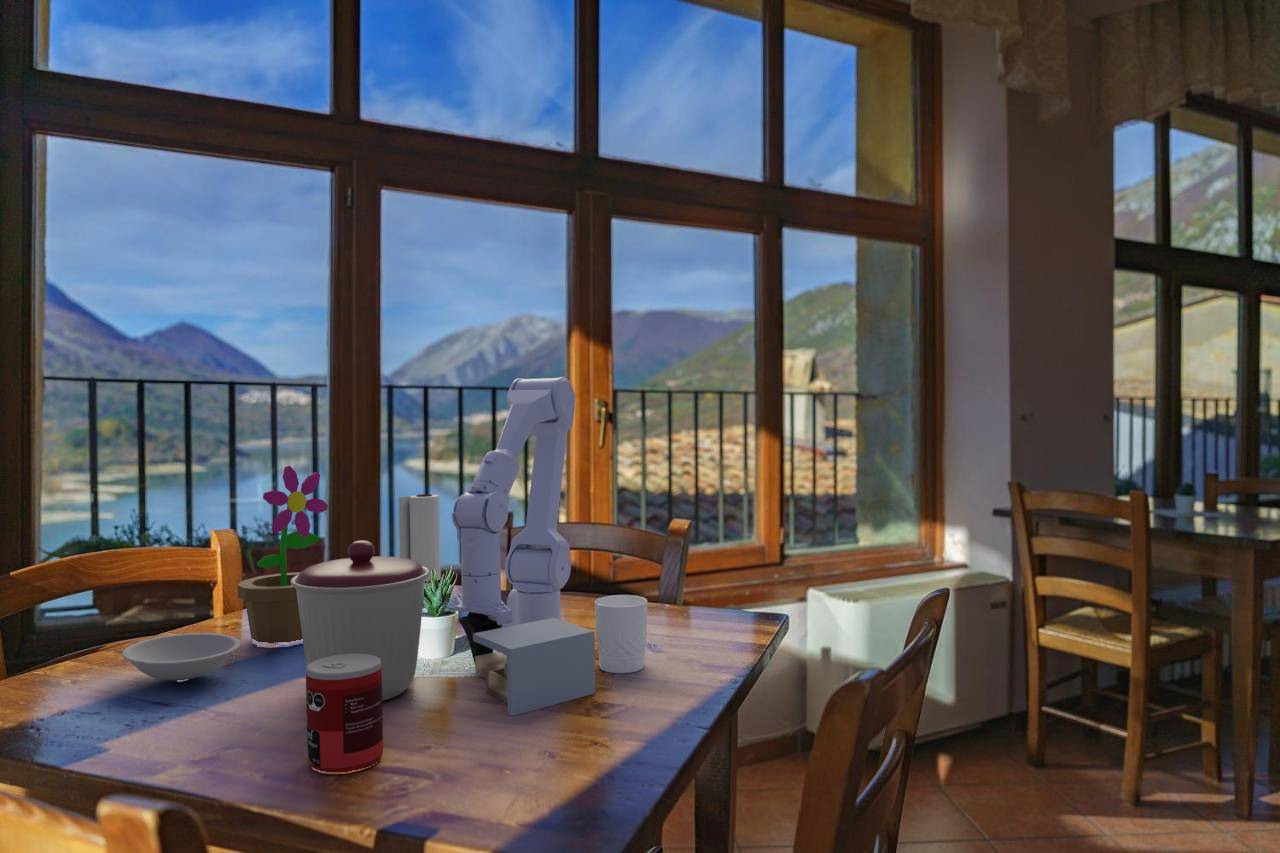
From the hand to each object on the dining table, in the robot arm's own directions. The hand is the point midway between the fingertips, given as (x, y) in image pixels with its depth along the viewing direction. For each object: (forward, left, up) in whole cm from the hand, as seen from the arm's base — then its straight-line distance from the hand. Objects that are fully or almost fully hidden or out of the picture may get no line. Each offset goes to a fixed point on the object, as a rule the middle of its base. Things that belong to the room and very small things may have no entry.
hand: (482, 663), depth 126 cm
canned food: (+20, -27, -1) cm, 34 cm away
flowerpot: (-37, -17, -1) cm, 41 cm away
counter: (+15, 0, -1) cm, 15 cm away
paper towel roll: (-52, +15, -1) cm, 54 cm away
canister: (-1, -17, -1) cm, 18 cm away
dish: (-24, -35, -1) cm, 43 cm away
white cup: (+13, +17, -1) cm, 21 cm away
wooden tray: (+9, 0, -1) cm, 9 cm away
